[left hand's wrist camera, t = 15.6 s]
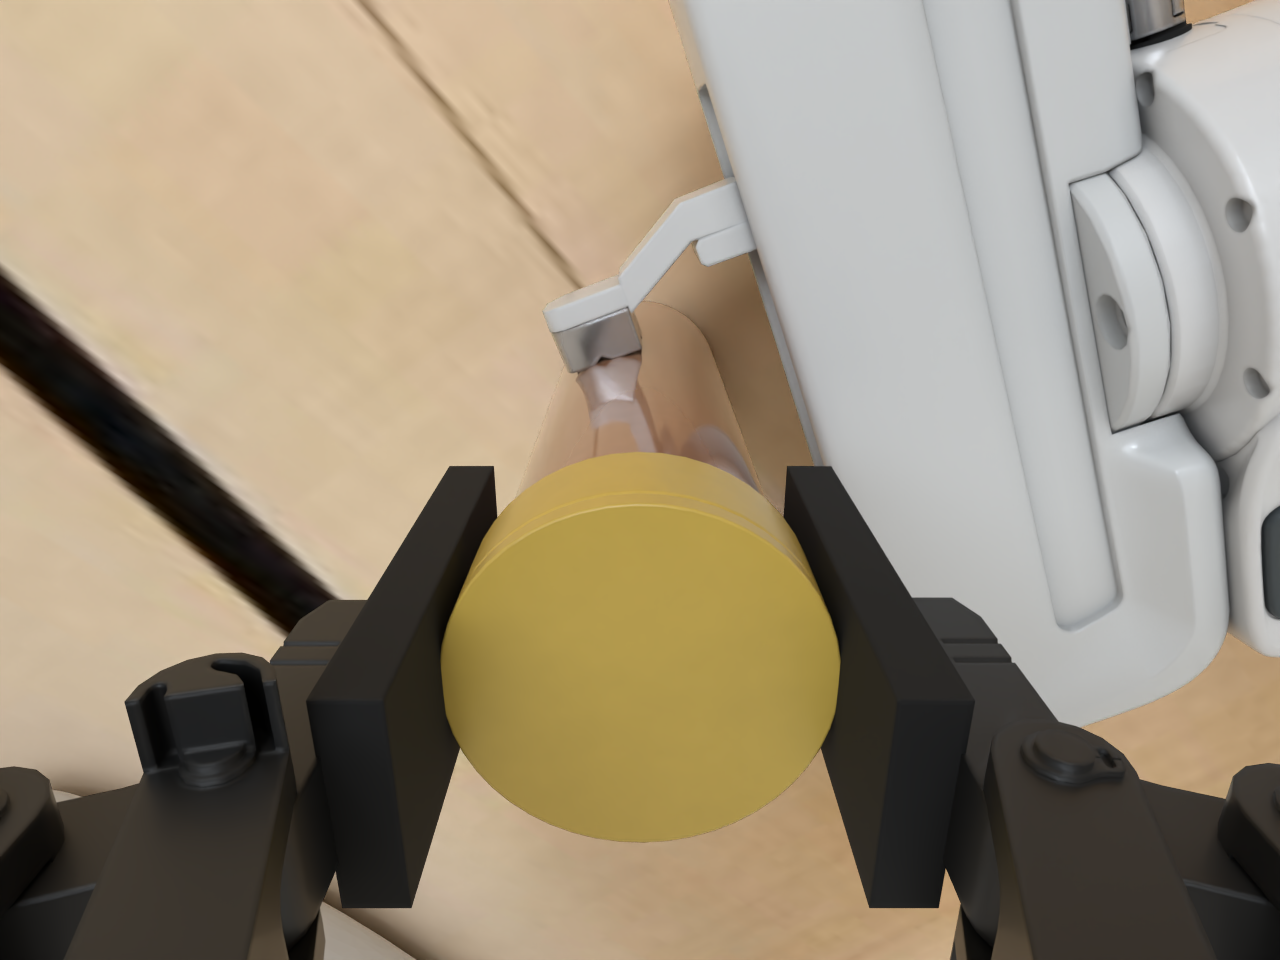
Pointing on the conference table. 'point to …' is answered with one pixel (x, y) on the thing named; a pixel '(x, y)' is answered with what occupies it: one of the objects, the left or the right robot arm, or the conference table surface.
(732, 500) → the lid
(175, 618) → the conference table surface
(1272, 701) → the conference table surface
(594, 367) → the jar
